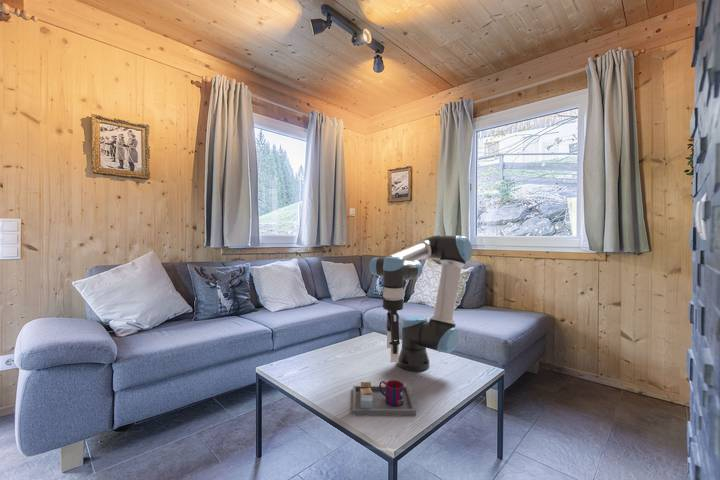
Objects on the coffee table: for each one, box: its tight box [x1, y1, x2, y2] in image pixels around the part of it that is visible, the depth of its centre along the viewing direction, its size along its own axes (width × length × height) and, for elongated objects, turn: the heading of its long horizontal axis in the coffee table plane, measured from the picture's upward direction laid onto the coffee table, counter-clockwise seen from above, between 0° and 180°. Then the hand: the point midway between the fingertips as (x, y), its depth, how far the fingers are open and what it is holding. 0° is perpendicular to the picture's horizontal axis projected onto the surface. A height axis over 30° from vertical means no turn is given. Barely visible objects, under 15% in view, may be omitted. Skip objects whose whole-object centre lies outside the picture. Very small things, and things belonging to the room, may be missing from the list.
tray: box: [352, 385, 417, 416], centre depth 123 cm, size 22×18×2 cm
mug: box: [378, 379, 405, 407], centre depth 124 cm, size 7×10×7 cm
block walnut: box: [360, 381, 372, 389], centre depth 128 cm, size 4×4×4 cm
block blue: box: [361, 395, 373, 409], centre depth 118 cm, size 4×4×4 cm
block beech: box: [360, 388, 373, 400], centre depth 123 cm, size 4×4×4 cm
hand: (392, 354), depth 123 cm, fingers open, 13 cm apart
